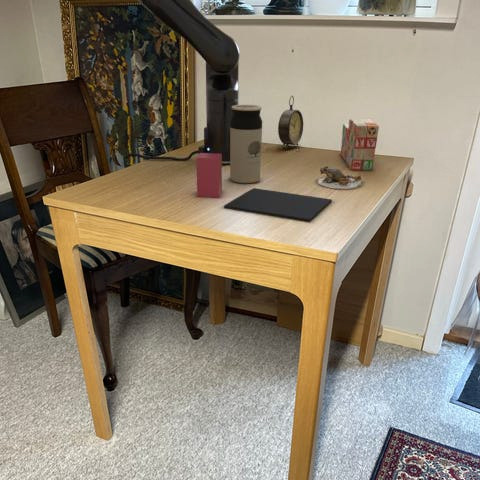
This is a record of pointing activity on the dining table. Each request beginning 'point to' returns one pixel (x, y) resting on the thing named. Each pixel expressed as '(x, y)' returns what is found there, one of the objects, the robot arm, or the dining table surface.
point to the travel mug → (245, 143)
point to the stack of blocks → (359, 143)
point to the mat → (279, 204)
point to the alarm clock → (290, 126)
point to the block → (209, 174)
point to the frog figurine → (339, 179)
